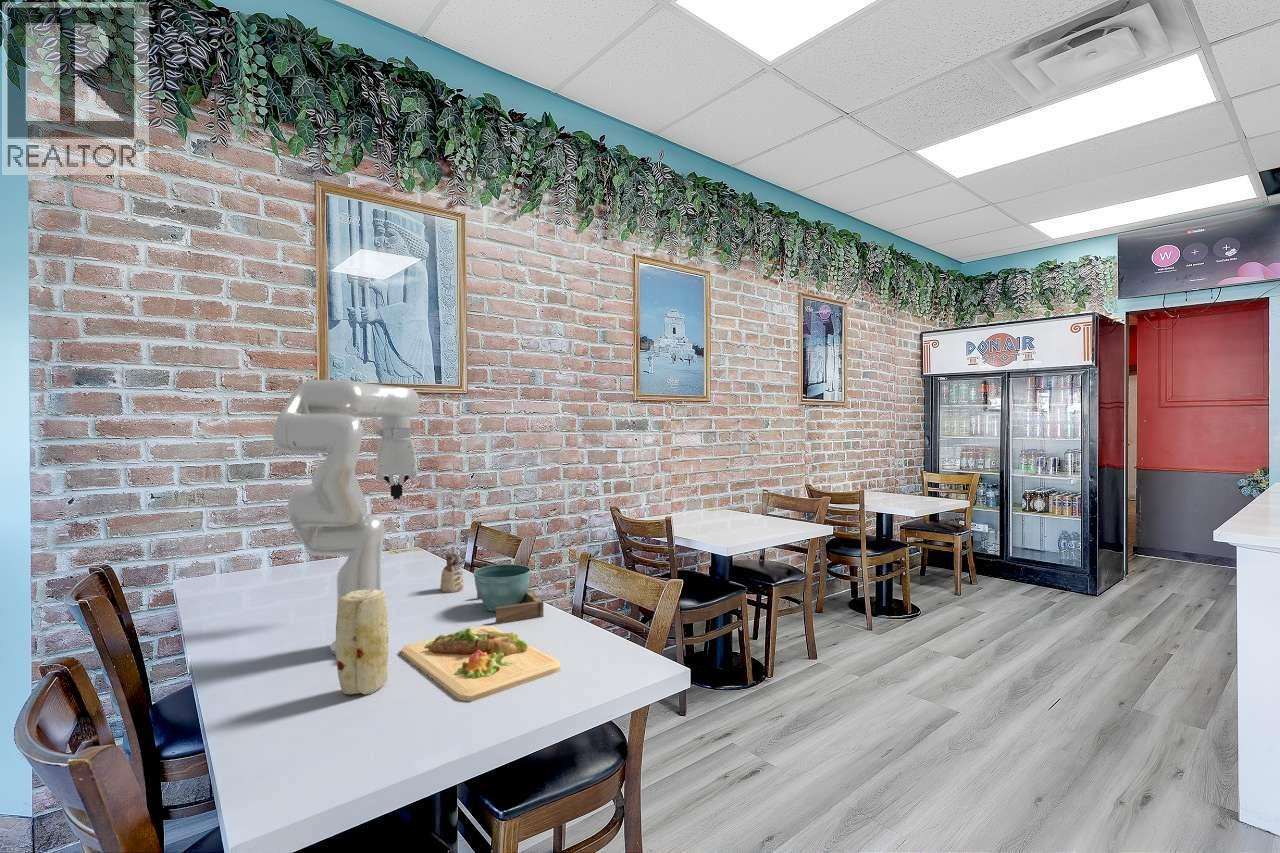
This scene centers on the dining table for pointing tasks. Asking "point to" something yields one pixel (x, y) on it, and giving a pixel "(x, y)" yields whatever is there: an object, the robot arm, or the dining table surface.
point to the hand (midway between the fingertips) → (396, 498)
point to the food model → (362, 641)
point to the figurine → (452, 575)
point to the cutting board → (479, 661)
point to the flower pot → (502, 584)
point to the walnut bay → (520, 609)
